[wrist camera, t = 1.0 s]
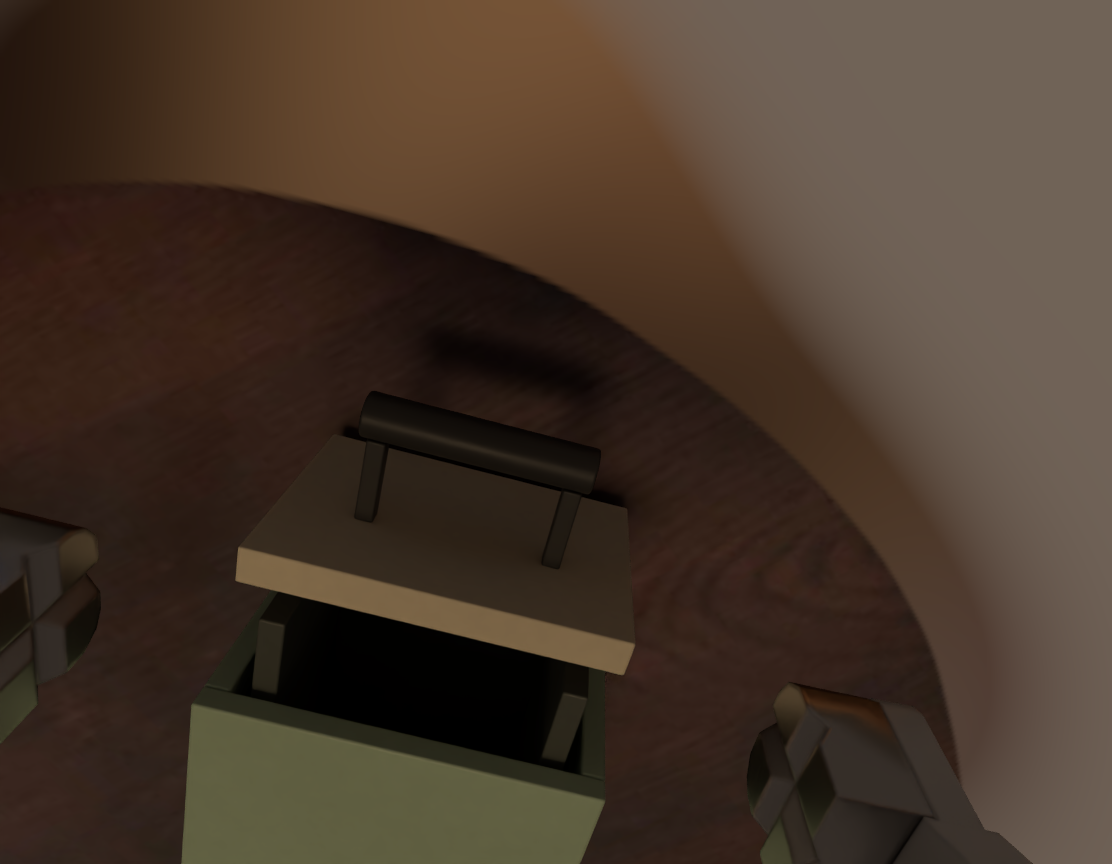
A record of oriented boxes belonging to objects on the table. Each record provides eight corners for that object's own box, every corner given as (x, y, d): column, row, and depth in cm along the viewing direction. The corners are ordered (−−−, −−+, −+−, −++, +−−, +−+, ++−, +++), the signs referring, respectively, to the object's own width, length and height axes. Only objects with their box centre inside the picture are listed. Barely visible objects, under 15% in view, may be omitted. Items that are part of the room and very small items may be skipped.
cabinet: (311, 531, 30) (189, 704, 21) (605, 604, 31) (605, 802, 22) (278, 776, 36) (172, 990, 27) (525, 833, 36) (500, 1061, 28)
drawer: (348, 327, 25) (248, 410, 18) (661, 409, 26) (683, 521, 19) (296, 698, 32) (210, 862, 25) (542, 757, 33) (525, 933, 26)
